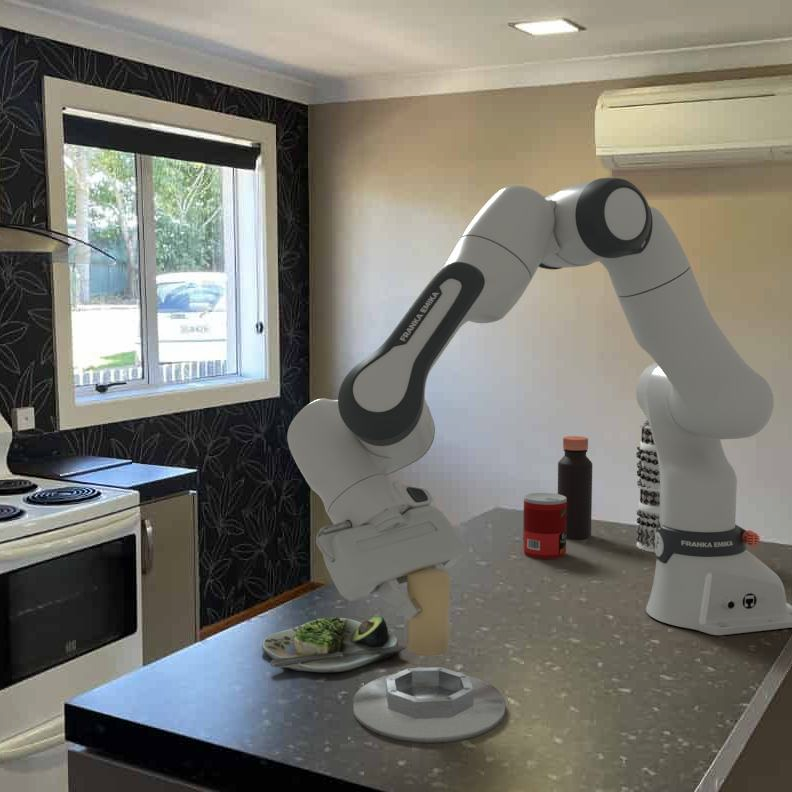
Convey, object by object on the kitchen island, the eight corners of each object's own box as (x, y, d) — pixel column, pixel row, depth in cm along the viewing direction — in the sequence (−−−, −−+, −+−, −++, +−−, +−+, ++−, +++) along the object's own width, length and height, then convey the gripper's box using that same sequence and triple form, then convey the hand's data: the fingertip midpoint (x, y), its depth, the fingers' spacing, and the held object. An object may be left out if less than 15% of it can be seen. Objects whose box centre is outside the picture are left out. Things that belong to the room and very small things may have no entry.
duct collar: (490, 676, 126) (491, 653, 126) (518, 739, 108) (518, 713, 108) (351, 680, 125) (351, 657, 125) (356, 745, 107) (355, 719, 107)
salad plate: (309, 696, 121) (309, 660, 121) (229, 656, 134) (228, 624, 134) (421, 655, 134) (421, 623, 134) (337, 623, 147) (337, 594, 147)
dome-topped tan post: (446, 640, 118) (446, 567, 117) (451, 655, 113) (452, 579, 112) (405, 641, 118) (405, 568, 117) (408, 656, 113) (409, 580, 112)
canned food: (569, 559, 180) (570, 501, 179) (525, 559, 180) (526, 501, 179) (562, 548, 188) (563, 492, 187) (520, 548, 188) (521, 492, 187)
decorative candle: (624, 547, 189) (627, 418, 186) (651, 538, 195) (654, 414, 193) (666, 556, 182) (669, 423, 180) (692, 547, 189) (696, 418, 186)
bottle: (556, 539, 195) (558, 440, 193) (557, 531, 202) (558, 435, 199) (591, 540, 194) (593, 440, 192) (590, 532, 200) (592, 435, 198)
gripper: (323, 514, 111) (388, 617, 105) (435, 487, 126) (497, 575, 121) (296, 546, 114) (358, 647, 109) (409, 515, 129) (468, 603, 124)
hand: (432, 609), depth 115 cm, fingers closed on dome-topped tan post, 5 cm apart
